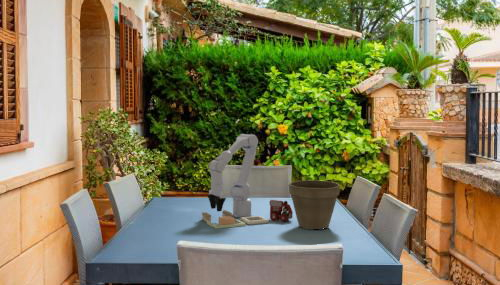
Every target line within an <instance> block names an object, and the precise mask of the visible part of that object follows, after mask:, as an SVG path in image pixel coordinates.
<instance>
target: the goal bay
mask: <svg viewBox="0 0 500 285" xmlns="http://www.w3.org/2000/svg"><path fill="white" fill-rule="evenodd" d="M206 225H208V226H210V227H211V228H214V229H216V230H217V229H225V228H227V229H228V228H235V227H236V228H237V227H245V226H246V225H247V224H246V223H244V222H241V221H240V219H237V218H235V224H229V225H219V224H218V225H217V224H215V223H213V222H212V221H211V222H209V221H208V222H206Z"/></svg>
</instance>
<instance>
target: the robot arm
mask: <svg viewBox="0 0 500 285" xmlns="http://www.w3.org/2000/svg"><path fill="white" fill-rule="evenodd" d="M258 144H259V138H258V137H257V135H255V134H247V133H246V134H245V133H240V134H239V135H238V136H237V137H236V140H235V141H234V142H233V144H232V145H231V146H230V147H229V148H228V149H227V150H224V151H222V152H221V154H219V155H218V156H217V157H216V158H215V160H214V159H212V160H211V161H210V163H209V165H208V169H209V171H210V172H209V174H210V189H209V190H208V194H207V198H208V200H209V204H210V208H211V209H216V211H217V212H223V207H224V204H225V202H226V198H227V197H225V194H224V192H223V171H225V169H226V165H227V164H229V162H230V161H231V160H232V159H233V155H234V154H236V153H237V152H238V151H239V150H240V149H243V150H244V153H245V154H244V157H243V161H242V163H241V164H242V165H241V167H240V171H239V175H238V177H237V178H238V179H237V180H236V181H235V182H234V183H233V185H232V186H231V187H230V190H229V192H230V193H229V194H230V196H231V198H232V212H231V213H232V217H233V218H240V217H252V202H251V199H250V198H249V197H250V193H251V192H250V191H251V186H250V184H249V180H250V177H251V176H250V175H251V174H252V173H251V172H252V169H253V165H254V163H255V162H254V161H255V158H256V155H257V147H258Z"/></svg>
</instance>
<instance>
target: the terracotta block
mask: <svg viewBox="0 0 500 285" xmlns="http://www.w3.org/2000/svg"><path fill="white" fill-rule="evenodd" d="M235 219H236V217H234V216H232V217H231V216H225V217H222V216H218V225H229V224H236V222H235Z"/></svg>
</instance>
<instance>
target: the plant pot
mask: <svg viewBox="0 0 500 285" xmlns="http://www.w3.org/2000/svg"><path fill="white" fill-rule="evenodd" d="M288 189H289V191H288V192H289V194H290V196H291V199H292V204H293V207H294V208H293V209H294V212H295V216H296V219H297V223H298V227H299V226H300V227H299V228H301V227H302V228H301V229H303V228H306V229H305V230H308V229H323V228H327V227H328V228H329V226H330V223H331V220H332V216H333V213H334V211H335V210H334V209H335V206H336V202H337V199H338V196H339V195H340V192H341V191H340V190H341V185H340V184H339V183H337V182H334V181H328V180H320V179H319V180H316V179H314V180H311V179H310V180H308V179H307V180H304V179H303V180H296V181H292V182H289V183H288ZM328 228H327V229H328Z"/></svg>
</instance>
